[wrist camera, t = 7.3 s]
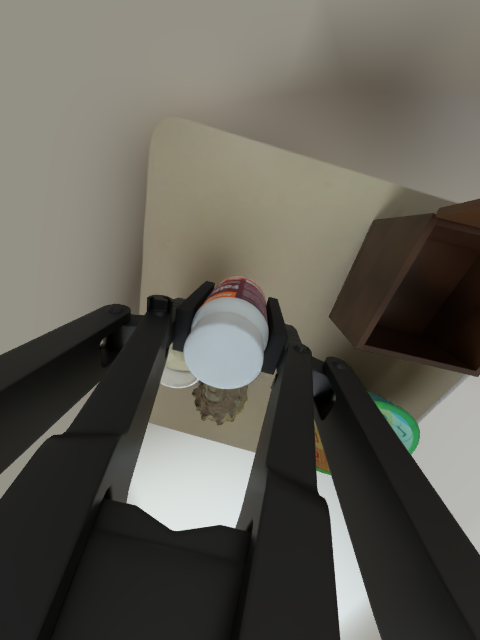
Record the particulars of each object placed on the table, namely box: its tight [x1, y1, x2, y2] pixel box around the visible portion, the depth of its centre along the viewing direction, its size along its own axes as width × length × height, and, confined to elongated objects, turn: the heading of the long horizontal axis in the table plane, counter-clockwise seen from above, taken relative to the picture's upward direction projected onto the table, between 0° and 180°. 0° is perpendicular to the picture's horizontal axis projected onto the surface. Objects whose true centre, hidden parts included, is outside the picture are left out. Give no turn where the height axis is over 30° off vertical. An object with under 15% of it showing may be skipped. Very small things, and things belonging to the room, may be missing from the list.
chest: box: [329, 213, 480, 377], centre depth 28 cm, size 17×18×11 cm
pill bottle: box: [183, 276, 269, 389], centre depth 13 cm, size 5×5×8 cm
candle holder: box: [160, 342, 199, 388], centre depth 34 cm, size 10×10×12 cm
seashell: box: [192, 383, 248, 425], centre depth 41 cm, size 11×14×10 cm
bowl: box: [314, 391, 420, 475], centre depth 40 cm, size 22×22×10 cm
